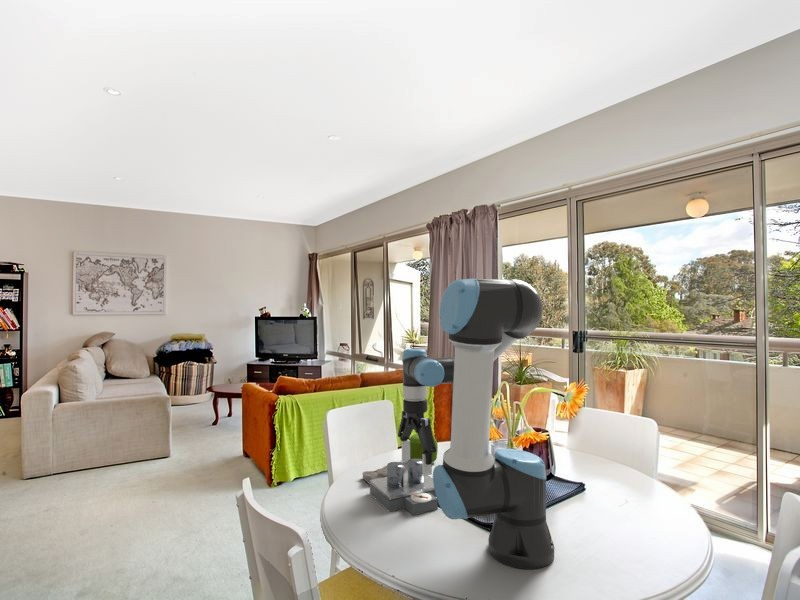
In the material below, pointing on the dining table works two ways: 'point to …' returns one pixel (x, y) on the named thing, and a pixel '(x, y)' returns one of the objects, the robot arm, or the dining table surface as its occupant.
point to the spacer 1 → (395, 474)
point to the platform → (405, 489)
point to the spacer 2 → (415, 471)
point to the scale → (408, 501)
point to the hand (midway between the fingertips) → (416, 467)
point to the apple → (420, 448)
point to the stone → (376, 474)
